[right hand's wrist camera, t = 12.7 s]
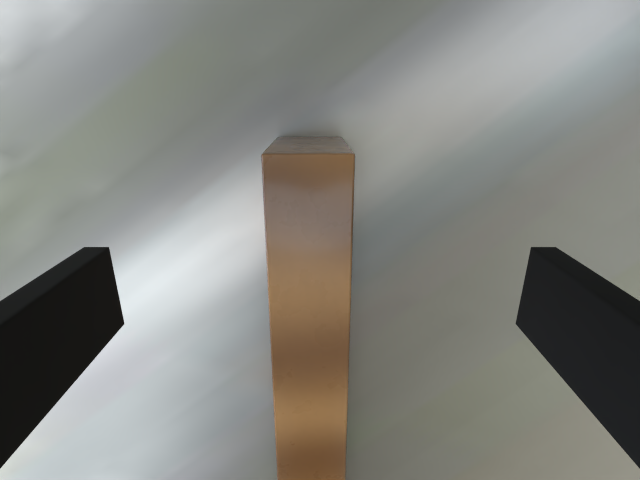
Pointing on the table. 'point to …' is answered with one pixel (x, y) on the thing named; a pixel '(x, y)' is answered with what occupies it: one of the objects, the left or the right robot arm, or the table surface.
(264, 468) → the table surface
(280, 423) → the beam
